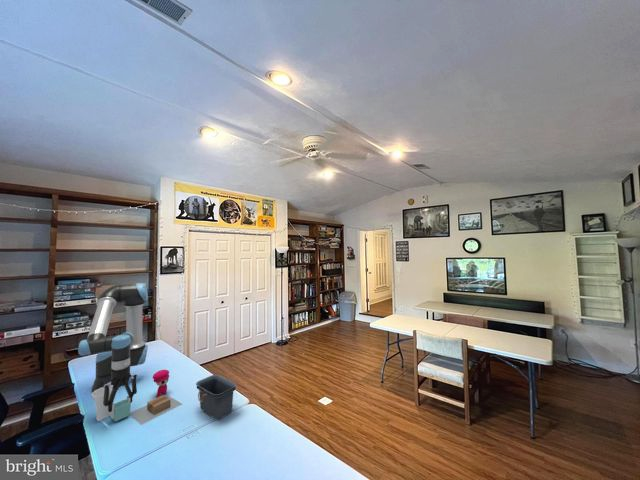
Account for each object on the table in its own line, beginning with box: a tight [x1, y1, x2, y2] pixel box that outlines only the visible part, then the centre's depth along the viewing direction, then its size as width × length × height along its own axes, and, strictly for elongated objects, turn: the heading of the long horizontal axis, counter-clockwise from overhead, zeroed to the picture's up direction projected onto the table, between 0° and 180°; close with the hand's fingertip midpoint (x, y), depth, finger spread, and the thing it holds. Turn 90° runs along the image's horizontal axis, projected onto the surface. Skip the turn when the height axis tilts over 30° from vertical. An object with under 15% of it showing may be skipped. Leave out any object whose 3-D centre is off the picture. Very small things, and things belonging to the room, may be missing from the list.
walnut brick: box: [146, 394, 171, 415], centre depth 138 cm, size 8×8×4 cm
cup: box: [91, 385, 113, 422], centre depth 133 cm, size 10×10×14 cm
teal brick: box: [112, 398, 131, 422], centre depth 130 cm, size 6×6×6 cm
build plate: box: [129, 395, 183, 426], centre depth 137 cm, size 16×20×1 cm
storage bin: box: [195, 374, 237, 421], centre depth 135 cm, size 21×16×14 cm
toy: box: [152, 369, 170, 398], centre depth 151 cm, size 8×8×15 cm
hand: (120, 413), depth 130 cm, fingers closed on teal brick, 6 cm apart
